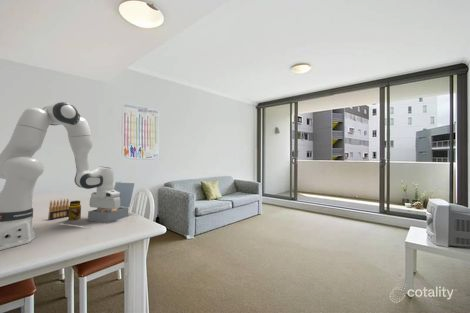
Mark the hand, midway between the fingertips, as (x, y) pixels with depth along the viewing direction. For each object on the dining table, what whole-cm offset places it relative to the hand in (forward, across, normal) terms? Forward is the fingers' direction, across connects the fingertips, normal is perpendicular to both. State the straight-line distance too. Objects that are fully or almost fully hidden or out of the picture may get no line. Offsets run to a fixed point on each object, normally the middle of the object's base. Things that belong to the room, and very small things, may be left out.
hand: (104, 215), depth 132 cm
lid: (-11, 0, +14) cm, 18 cm away
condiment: (+4, -19, -4) cm, 20 cm away
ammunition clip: (+4, -32, -4) cm, 32 cm away
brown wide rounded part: (+2, 0, 0) cm, 2 cm away
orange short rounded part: (+3, 0, +7) cm, 7 cm away
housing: (+4, 0, +4) cm, 5 cm away
